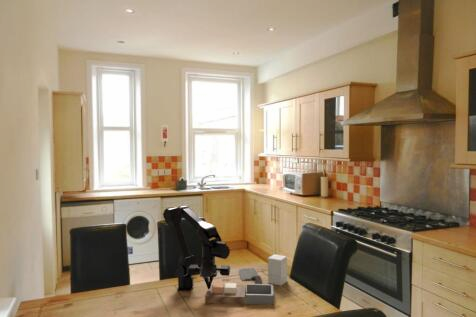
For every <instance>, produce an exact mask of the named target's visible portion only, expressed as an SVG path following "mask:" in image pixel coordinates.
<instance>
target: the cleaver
mask: <svg viewBox="0 0 476 317" xmlns="http://www.w3.org/2000/svg"><path fill="white" fill-rule="evenodd" d="M238 275H239V277H240V280H242V281H254V284H263V279H262V277H261V276H260V275H259V274H258V272H257V270H256V269H255V268H254V267H249V268H239V271H238Z"/></svg>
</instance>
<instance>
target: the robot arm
mask: <svg viewBox="0 0 476 317" xmlns="http://www.w3.org/2000/svg"><path fill="white" fill-rule="evenodd" d="M162 216H163V219H164V222H165V223H166V224H167V225H168V226H169V228H170V229H171V234H172V237H173V239H174V240H173V241H174V243H175V247H176V250H177V253H178V261H177V266H178V267H177V269H176V270H175V271H174V276H175V277H176V278H177V280H178V282H177V283H178V284H177V285H178V287H177V291H189V292H190V291H192V289H193V288H194V285H195V284H194V282H195V281H194V275H196V273H200V274H199V277H200V278H202V279H203V280H204V283H205V284H206V287H207V290H208V289H210V287H211V285H213V284H212V283H213V280H214V278H216V277H217V275H218V273H219V275H220V276H225V277H226V276H227V277H228V276H230V274H231V273H230V272H231V266H230V265H226V264H224V265H223V264H221V266H220V267H217V266H218V265H217V264H216V258H219V259H222V260H227V259H228V258H229V257H230V254H231V253H230V252H231V249H230V247H229V245H227V242H223V240H222V238H221V236H220V234H219V231H218V229H217V227H216V226H215V225H213V224H211V223H209V222H206V221H204V220H202V218H201V217H199V216H198V215H197V214H196V213H195V212H194V211H192V210H191V209H190V207H189V206H188V205H182V206H178V207H171V208H169V207H168V208H165V209H164V211H163V213H162ZM183 219H184V220H185V221H186V222H187V223H189V224H190V225H191V226H192V227H193V228H194V229H195V230H196V234H197V235H198V237H199V238H200V240H199V241H198V244H201V253H202V254H201V256H202V257H201V264H200V267H199V266H198V261H197V258H196V256H195V255H192V254H191V253H190V250H189V247H188V245H187V244H188V243H187V240H186V237H185V234H184V230H183V227H182V220H183Z"/></svg>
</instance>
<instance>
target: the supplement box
mask: <svg viewBox="0 0 476 317" xmlns="http://www.w3.org/2000/svg"><path fill="white" fill-rule="evenodd" d="M267 282H268V283H267V284H273V285H276V286H279V287H280V286H283V285H284V284H285V283H287V282H288V257H287V256H286V255H281V254H276V253H275V254H272V255H270V256H269V257H268V258H267Z"/></svg>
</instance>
